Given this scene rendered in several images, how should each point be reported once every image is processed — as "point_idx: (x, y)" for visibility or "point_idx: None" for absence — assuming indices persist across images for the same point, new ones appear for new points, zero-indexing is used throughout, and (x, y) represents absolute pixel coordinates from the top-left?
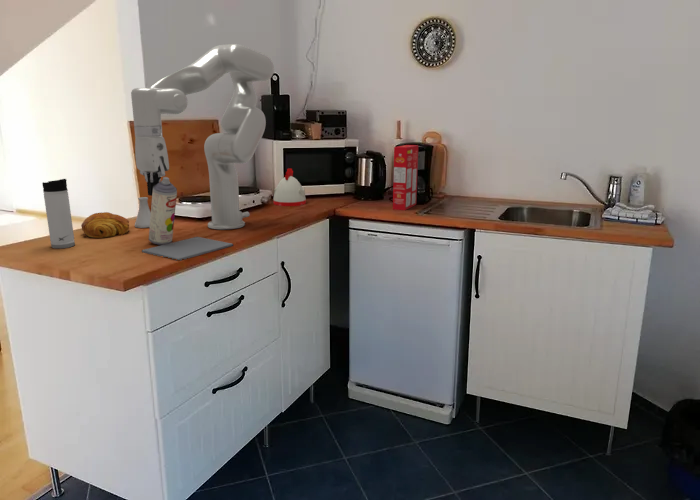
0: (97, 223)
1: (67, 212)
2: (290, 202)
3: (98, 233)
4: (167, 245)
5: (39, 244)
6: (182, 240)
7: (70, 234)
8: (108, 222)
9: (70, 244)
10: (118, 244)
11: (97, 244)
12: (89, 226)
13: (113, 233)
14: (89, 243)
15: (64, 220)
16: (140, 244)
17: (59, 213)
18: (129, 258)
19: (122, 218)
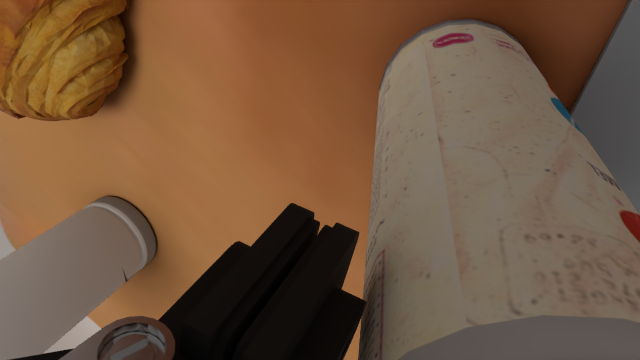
0: (41, 100)
1: (38, 328)
2: None
3: (99, 105)
4: None
5: (52, 219)
6: (619, 39)
7: (119, 262)
8: (51, 56)
9: (149, 245)
10: (271, 171)
11: (197, 187)
12: (39, 117)
13: (121, 45)
14: (159, 179)
15: (72, 319)
16: (368, 149)
17: (41, 352)
18: None
19: None
